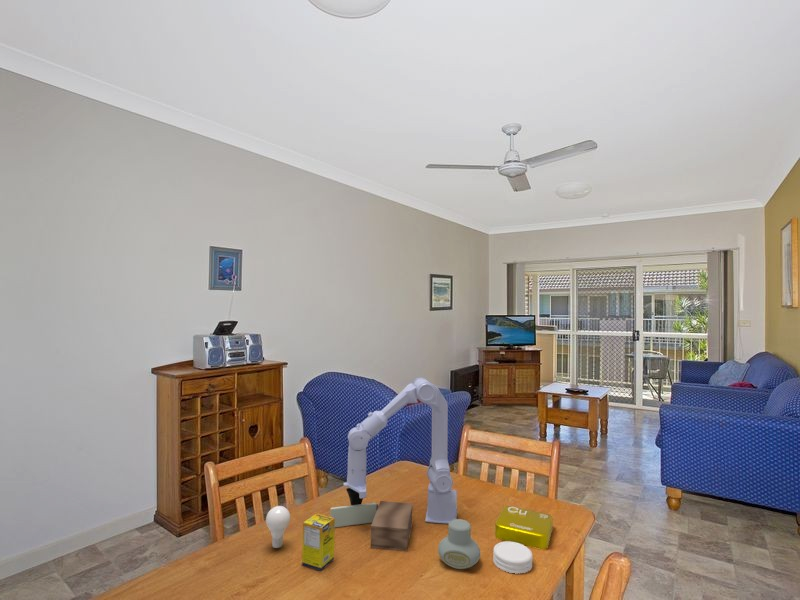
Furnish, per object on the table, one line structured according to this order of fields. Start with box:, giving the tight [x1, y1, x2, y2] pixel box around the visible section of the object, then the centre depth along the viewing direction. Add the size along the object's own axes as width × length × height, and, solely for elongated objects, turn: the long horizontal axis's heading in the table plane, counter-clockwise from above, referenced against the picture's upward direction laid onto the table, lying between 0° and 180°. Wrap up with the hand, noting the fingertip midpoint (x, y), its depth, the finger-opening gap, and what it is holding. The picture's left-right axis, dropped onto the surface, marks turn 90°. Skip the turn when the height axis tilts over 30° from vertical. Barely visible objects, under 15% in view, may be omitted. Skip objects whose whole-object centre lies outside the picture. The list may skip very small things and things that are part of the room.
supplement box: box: [301, 513, 336, 572], centre depth 115 cm, size 6×6×11 cm
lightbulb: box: [265, 505, 291, 549], centre depth 122 cm, size 6×6×11 cm
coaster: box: [492, 541, 533, 575], centre depth 117 cm, size 10×10×4 cm
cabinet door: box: [329, 502, 379, 528], centre depth 136 cm, size 2×15×6 cm, turn 108°
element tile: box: [494, 505, 554, 550], centre depth 133 cm, size 15×15×5 cm
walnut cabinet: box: [370, 500, 413, 552], centre depth 130 cm, size 10×16×6 cm, turn 173°
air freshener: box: [437, 518, 481, 570], centre depth 117 cm, size 11×8×10 cm
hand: (355, 512), depth 137 cm, fingers closed
